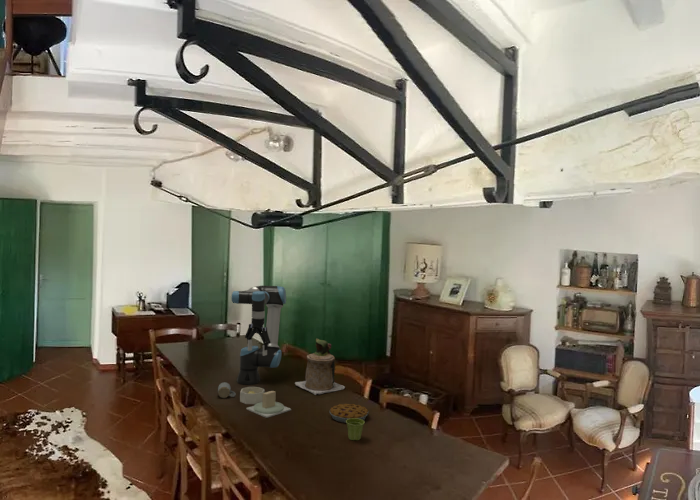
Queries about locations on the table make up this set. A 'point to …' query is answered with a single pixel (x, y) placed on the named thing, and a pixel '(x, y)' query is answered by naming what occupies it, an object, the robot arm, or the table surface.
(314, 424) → the table surface
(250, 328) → the robot arm
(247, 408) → the mat
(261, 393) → the bowl
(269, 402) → the lid
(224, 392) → the ceramic mug
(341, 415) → the pie
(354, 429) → the plant pot
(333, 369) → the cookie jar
